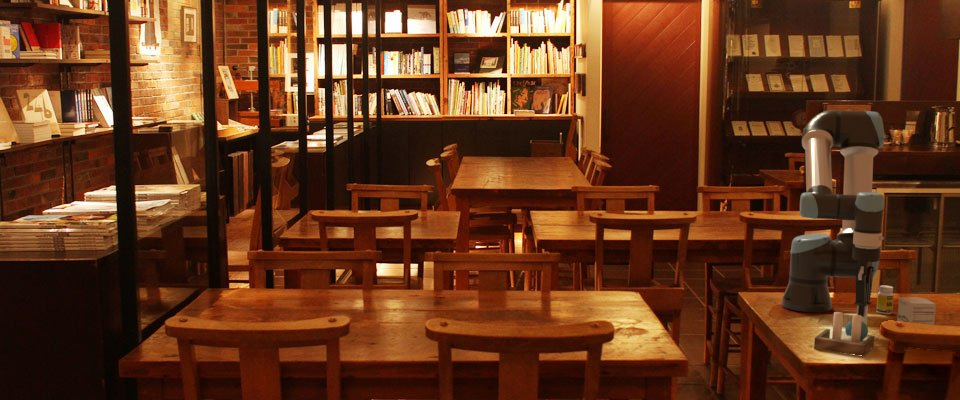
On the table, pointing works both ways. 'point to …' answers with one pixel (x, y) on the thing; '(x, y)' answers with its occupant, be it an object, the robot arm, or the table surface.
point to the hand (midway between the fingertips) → (861, 326)
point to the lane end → (842, 344)
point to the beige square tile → (861, 340)
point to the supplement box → (916, 310)
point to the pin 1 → (837, 325)
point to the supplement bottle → (885, 300)
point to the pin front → (847, 338)
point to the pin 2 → (856, 328)
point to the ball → (863, 330)
